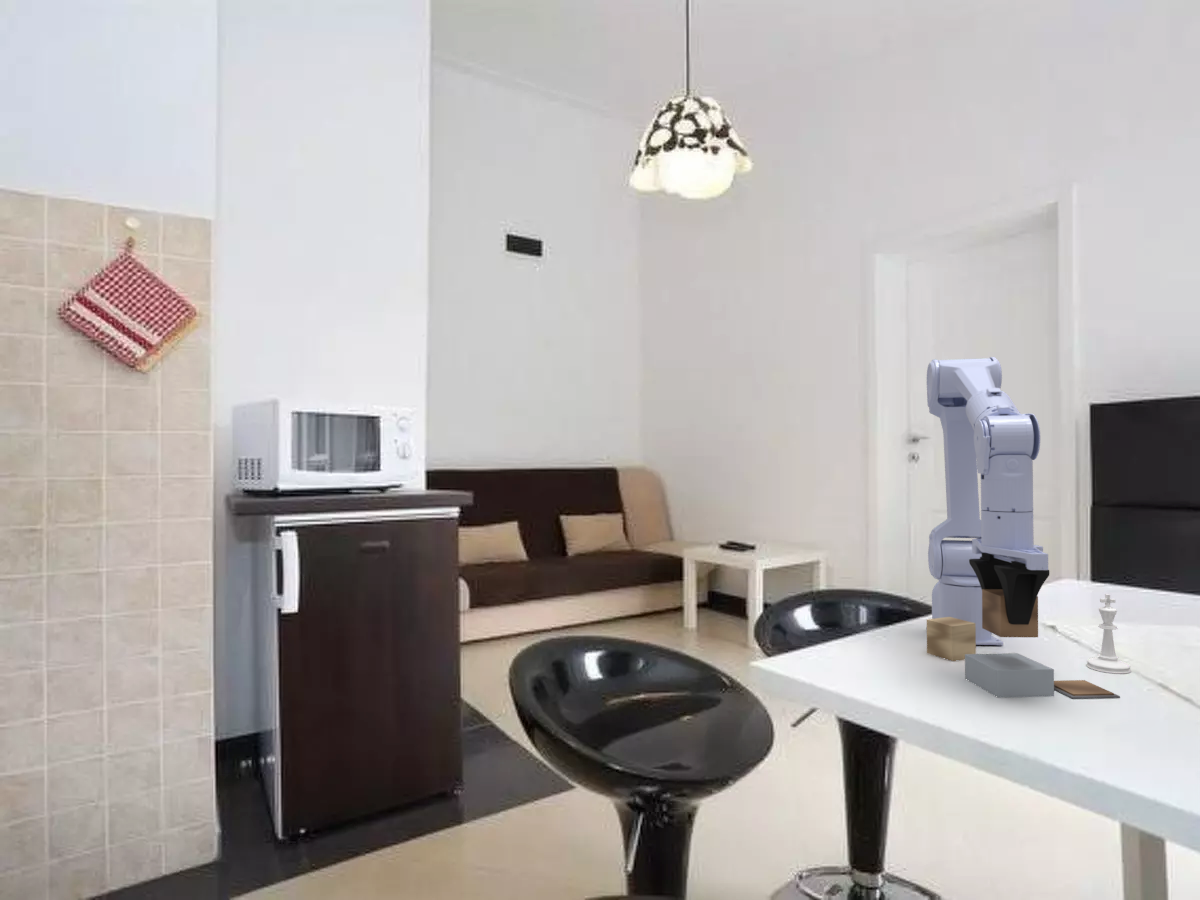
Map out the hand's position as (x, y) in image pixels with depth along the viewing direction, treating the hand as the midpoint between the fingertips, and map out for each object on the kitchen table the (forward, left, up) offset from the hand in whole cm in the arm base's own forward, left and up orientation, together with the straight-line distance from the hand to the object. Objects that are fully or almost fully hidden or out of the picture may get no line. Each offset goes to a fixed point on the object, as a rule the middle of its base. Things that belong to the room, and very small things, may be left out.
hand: (1007, 619), depth 89 cm
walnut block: (0, 0, -2) cm, 2 cm away
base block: (0, 0, -9) cm, 9 cm away
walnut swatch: (+1, +8, -8) cm, 12 cm away
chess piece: (-8, +17, -9) cm, 21 cm away
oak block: (-14, -1, -9) cm, 16 cm away
